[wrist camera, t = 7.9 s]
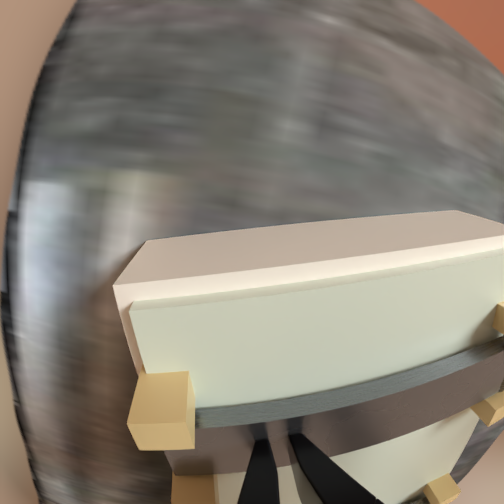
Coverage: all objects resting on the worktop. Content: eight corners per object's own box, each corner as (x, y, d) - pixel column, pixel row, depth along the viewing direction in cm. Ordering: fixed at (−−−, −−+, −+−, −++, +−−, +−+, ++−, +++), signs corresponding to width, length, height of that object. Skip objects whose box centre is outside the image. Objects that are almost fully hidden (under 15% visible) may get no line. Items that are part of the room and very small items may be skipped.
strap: (512, 329, 9) (527, 339, 8) (497, 375, 10) (510, 387, 9) (158, 409, 8) (154, 432, 7) (176, 456, 9) (174, 478, 8)
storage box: (396, 472, 20) (432, 534, 13) (220, 512, 19) (229, 589, 11) (455, 210, 14) (572, 248, 7) (146, 240, 13) (78, 333, 5)
